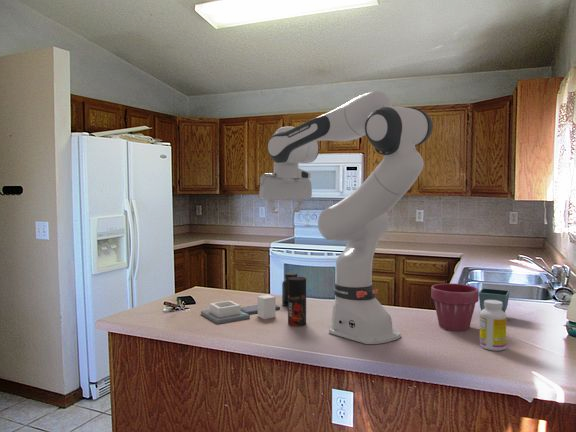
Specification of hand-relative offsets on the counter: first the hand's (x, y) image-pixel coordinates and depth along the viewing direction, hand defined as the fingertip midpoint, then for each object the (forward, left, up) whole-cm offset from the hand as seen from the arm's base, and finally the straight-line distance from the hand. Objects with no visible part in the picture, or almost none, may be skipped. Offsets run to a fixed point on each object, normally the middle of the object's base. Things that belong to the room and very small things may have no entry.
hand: (286, 212), depth 163 cm
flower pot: (-45, -56, -36) cm, 80 cm away
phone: (+7, +7, -36) cm, 37 cm away
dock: (+6, +21, -36) cm, 42 cm away
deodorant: (-15, +5, -36) cm, 39 cm away
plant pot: (-45, -35, -36) cm, 67 cm away
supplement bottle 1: (+7, -7, -36) cm, 37 cm away
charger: (-2, +9, -36) cm, 37 cm away
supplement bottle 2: (-63, -28, -36) cm, 78 cm away
